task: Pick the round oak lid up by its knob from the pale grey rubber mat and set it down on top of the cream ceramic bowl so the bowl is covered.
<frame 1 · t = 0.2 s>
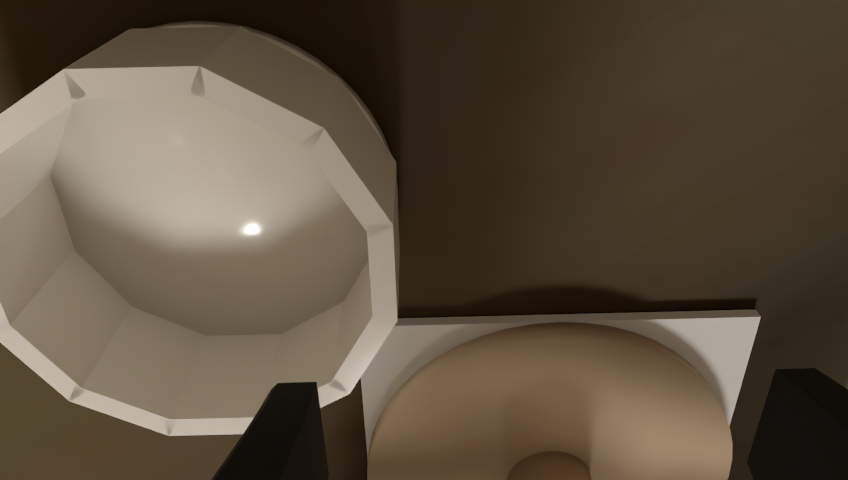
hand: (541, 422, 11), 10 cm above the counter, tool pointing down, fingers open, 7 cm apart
lid: (544, 463, 25), resting on mat
mat: (542, 455, 25), on the counter
bowl: (226, 197, 19), on the counter
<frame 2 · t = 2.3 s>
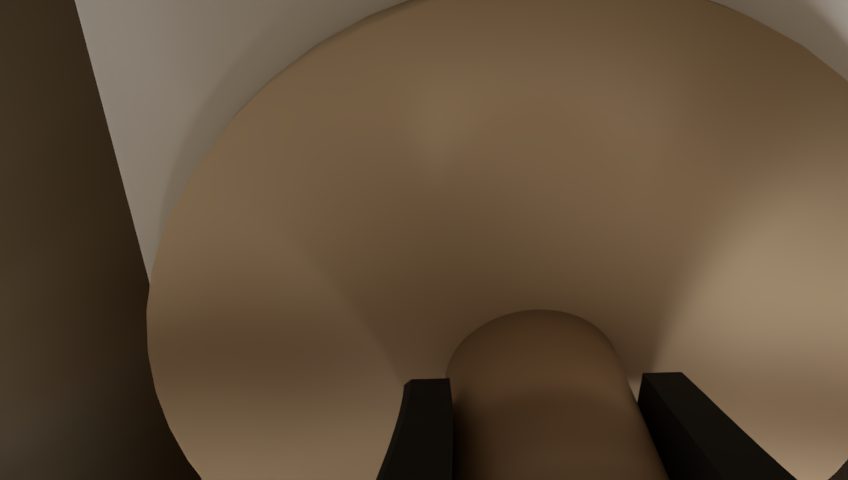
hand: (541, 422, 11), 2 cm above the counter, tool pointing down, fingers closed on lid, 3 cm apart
lid: (524, 351, 12), resting on mat, touching gripper
mat: (521, 337, 13), on the counter
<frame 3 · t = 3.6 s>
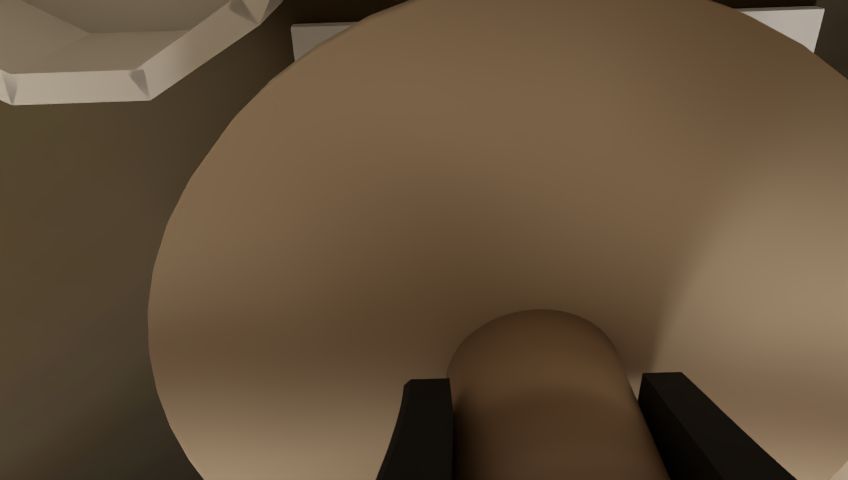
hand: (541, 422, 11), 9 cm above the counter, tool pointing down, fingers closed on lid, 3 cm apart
lid: (525, 350, 12), point 7 cm above the counter, touching gripper
mat: (540, 242, 20), on the counter
when the fingers open (7 cm above the counter, at t = 5.0 s): lid stays where it is, resting on bowl.
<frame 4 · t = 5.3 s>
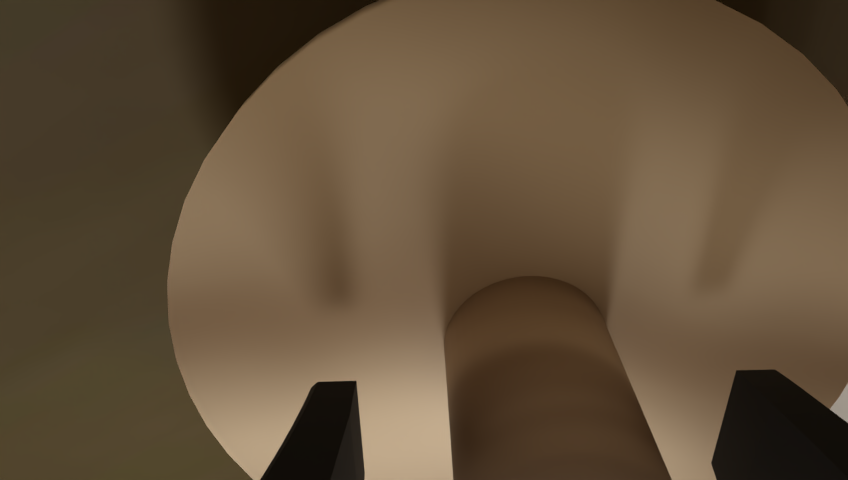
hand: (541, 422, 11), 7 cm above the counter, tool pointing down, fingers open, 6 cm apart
lid: (518, 318, 13), point 4 cm above the counter, touching bowl
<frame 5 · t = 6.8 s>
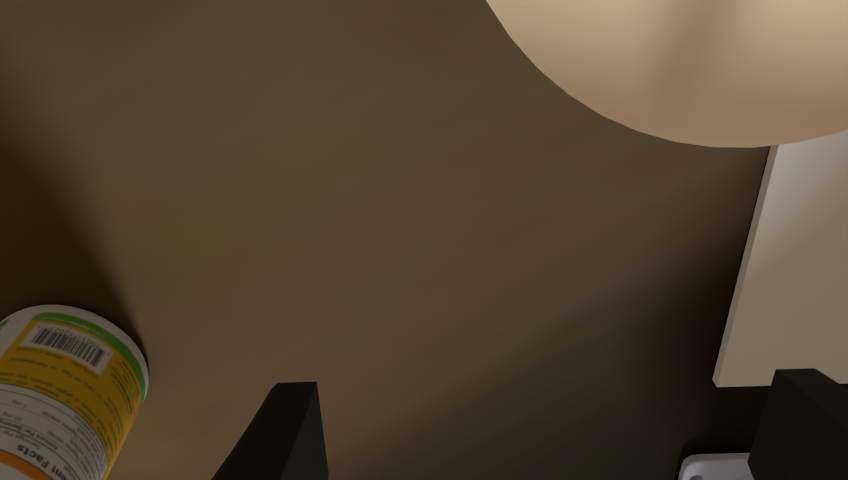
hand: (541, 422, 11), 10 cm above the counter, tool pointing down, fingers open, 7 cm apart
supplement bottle: (75, 359, 23), on the counter
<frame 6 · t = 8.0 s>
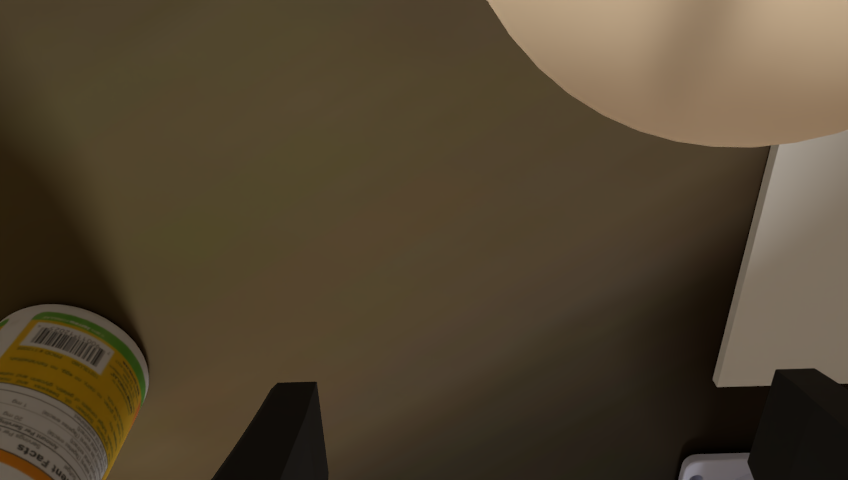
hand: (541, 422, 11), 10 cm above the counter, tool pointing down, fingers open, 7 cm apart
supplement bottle: (76, 359, 23), on the counter
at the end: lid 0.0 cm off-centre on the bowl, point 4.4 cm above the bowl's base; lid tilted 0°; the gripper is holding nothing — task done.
